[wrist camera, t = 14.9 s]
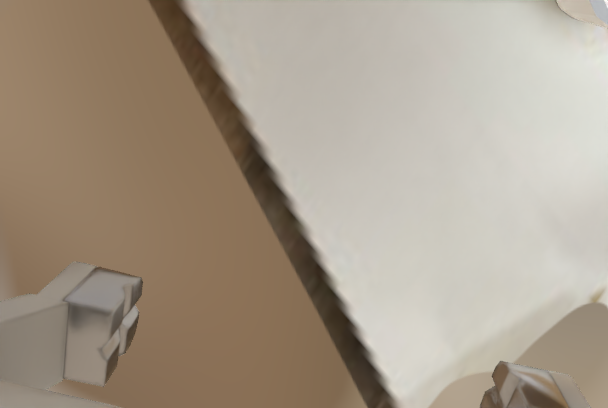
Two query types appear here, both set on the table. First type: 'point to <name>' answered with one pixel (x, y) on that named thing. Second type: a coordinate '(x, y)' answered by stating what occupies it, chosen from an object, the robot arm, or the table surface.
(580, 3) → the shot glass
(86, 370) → the robot arm
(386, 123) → the table surface
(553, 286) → the table surface
